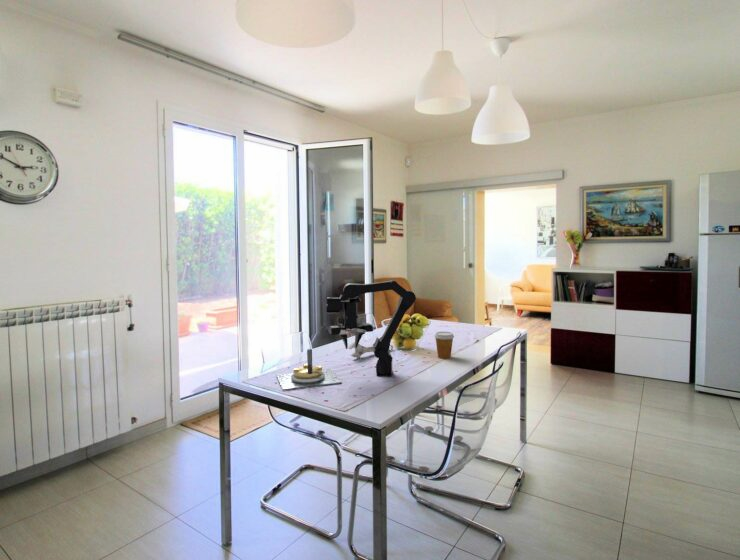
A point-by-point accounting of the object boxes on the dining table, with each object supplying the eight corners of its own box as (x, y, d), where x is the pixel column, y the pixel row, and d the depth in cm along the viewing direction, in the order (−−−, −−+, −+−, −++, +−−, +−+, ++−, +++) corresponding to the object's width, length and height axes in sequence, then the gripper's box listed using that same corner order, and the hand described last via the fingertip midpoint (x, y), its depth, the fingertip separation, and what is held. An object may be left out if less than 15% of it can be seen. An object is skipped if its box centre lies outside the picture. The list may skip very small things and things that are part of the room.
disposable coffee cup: (448, 353, 220) (448, 330, 219) (457, 358, 211) (457, 334, 210) (431, 355, 218) (431, 332, 217) (439, 360, 209) (439, 336, 208)
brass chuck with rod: (325, 371, 187) (325, 343, 185) (317, 379, 175) (316, 350, 174) (299, 369, 189) (298, 343, 188) (289, 378, 177) (288, 349, 176)
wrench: (392, 355, 231) (349, 359, 210) (390, 354, 232) (347, 359, 212) (393, 340, 231) (351, 343, 210) (391, 339, 232) (348, 342, 212)
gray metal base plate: (330, 370, 195) (329, 365, 195) (341, 383, 176) (341, 378, 176) (276, 376, 187) (276, 371, 187) (282, 390, 169) (282, 385, 168)
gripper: (365, 308, 195) (365, 342, 196) (325, 311, 189) (325, 346, 190) (373, 312, 185) (373, 348, 186) (331, 315, 178) (332, 352, 180)
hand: (351, 348), depth 186 cm, fingers open, 4 cm apart
